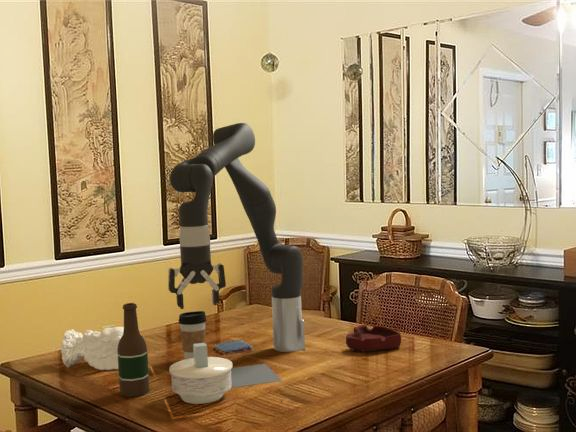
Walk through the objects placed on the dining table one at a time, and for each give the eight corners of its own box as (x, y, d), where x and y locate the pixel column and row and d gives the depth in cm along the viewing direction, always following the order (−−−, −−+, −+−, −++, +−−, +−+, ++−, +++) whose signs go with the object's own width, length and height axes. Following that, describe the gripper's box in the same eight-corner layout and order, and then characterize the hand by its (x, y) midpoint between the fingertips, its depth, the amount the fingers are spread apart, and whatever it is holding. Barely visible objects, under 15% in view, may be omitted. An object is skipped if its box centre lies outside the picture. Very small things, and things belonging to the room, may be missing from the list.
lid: (225, 356, 191) (223, 334, 190) (239, 373, 175) (238, 348, 175) (165, 364, 186) (164, 340, 185) (174, 382, 171) (173, 356, 170)
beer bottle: (122, 388, 192) (116, 301, 189) (151, 387, 192) (146, 300, 190) (117, 398, 184) (112, 307, 182) (147, 396, 184) (142, 306, 182)
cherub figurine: (77, 325, 223) (136, 318, 220) (83, 363, 224) (142, 357, 221) (57, 334, 211) (120, 327, 207) (63, 375, 211) (126, 369, 208)
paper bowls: (241, 391, 186) (240, 361, 185) (217, 411, 172) (215, 380, 171) (189, 387, 191) (188, 358, 190) (161, 406, 177) (159, 375, 176)
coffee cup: (203, 365, 210) (201, 316, 209) (176, 365, 212) (174, 315, 210) (212, 357, 218) (209, 309, 217) (186, 357, 220) (183, 309, 218)
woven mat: (225, 357, 220) (224, 351, 219) (212, 349, 229) (211, 343, 229) (255, 351, 224) (255, 345, 224) (241, 344, 234) (241, 338, 234)
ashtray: (396, 356, 212) (395, 340, 212) (343, 353, 218) (343, 337, 217) (406, 341, 229) (405, 326, 229) (356, 338, 234) (356, 324, 234)
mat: (265, 365, 208) (265, 363, 208) (282, 382, 191) (282, 380, 191) (208, 373, 202) (208, 371, 202) (220, 391, 186) (220, 389, 186)
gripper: (219, 239, 184) (222, 301, 185) (164, 244, 179) (168, 306, 181) (225, 242, 177) (229, 306, 178) (168, 247, 172) (172, 312, 174)
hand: (198, 306), depth 179 cm, fingers open, 8 cm apart
